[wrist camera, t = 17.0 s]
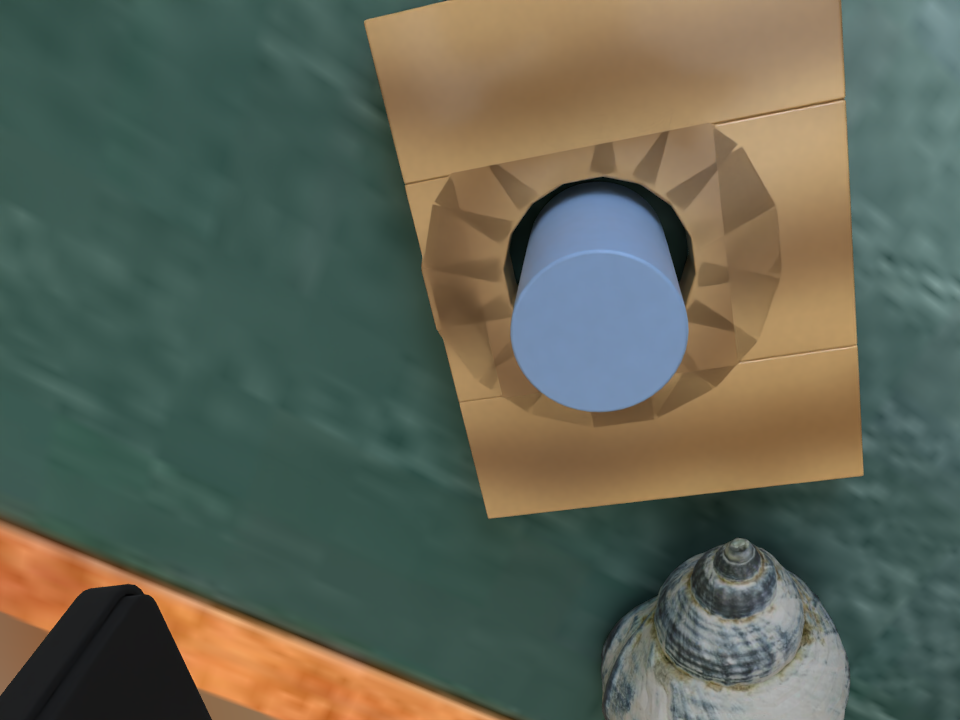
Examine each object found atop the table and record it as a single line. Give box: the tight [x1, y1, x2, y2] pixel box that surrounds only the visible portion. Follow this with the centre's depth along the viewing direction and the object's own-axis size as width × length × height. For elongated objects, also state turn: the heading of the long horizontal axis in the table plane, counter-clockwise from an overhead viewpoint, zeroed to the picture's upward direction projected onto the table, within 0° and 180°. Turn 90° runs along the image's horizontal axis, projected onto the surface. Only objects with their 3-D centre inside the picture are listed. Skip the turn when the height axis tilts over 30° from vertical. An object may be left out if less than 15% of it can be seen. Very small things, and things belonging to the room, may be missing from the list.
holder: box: [364, 0, 864, 519], centre depth 26 cm, size 16×12×2 cm
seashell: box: [601, 538, 850, 720], centre depth 29 cm, size 6×8×12 cm
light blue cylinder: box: [510, 182, 689, 412], centre depth 23 cm, size 4×4×7 cm
